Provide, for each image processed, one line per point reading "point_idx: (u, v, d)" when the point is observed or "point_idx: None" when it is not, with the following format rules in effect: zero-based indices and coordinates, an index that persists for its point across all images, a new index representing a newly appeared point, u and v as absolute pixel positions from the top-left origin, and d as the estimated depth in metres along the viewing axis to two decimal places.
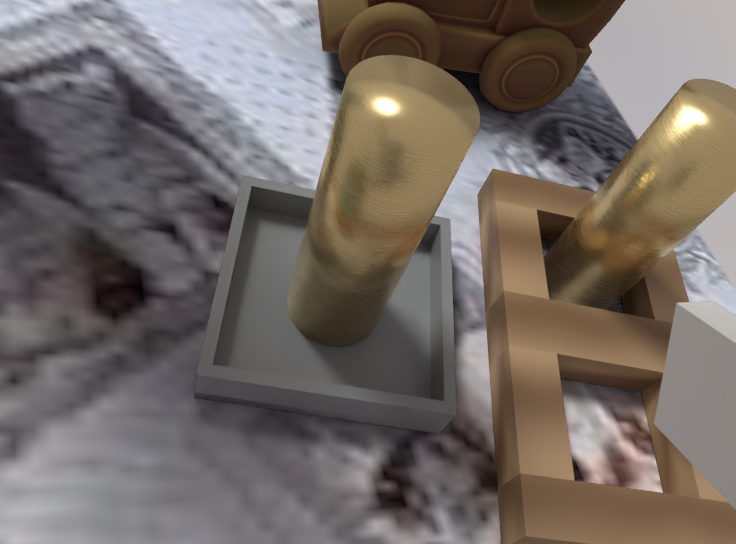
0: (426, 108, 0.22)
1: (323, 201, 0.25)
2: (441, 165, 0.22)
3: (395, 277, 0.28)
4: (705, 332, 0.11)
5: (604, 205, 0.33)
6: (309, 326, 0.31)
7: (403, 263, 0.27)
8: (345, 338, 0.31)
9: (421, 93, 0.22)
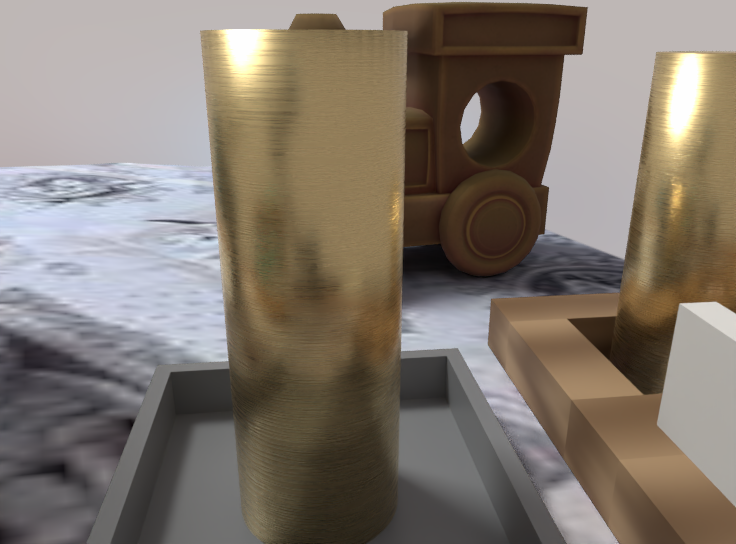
0: None
1: (224, 235, 0.16)
2: (364, 62, 0.14)
3: (383, 355, 0.17)
4: (709, 333, 0.11)
5: (646, 235, 0.23)
6: (278, 520, 0.18)
7: (385, 319, 0.16)
8: (345, 525, 0.18)
9: None
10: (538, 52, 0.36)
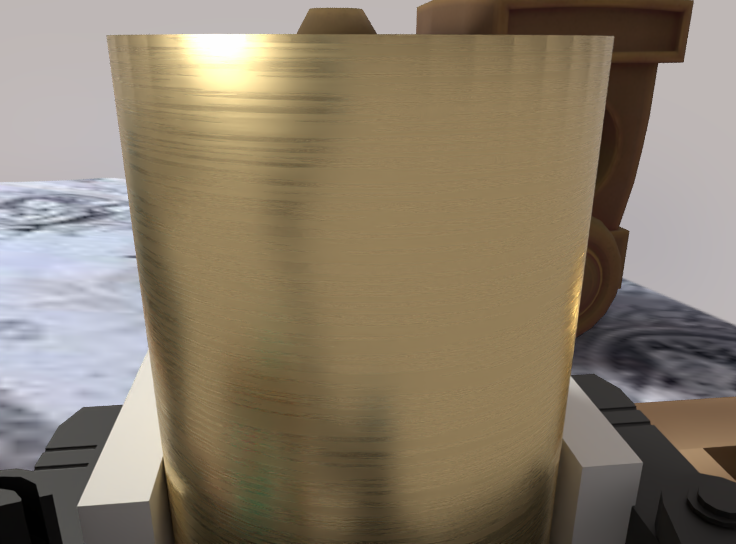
0: None
1: (175, 498, 0.07)
2: (544, 125, 0.05)
3: None
4: None
5: None
6: None
7: None
8: None
9: None
10: (629, 60, 0.27)
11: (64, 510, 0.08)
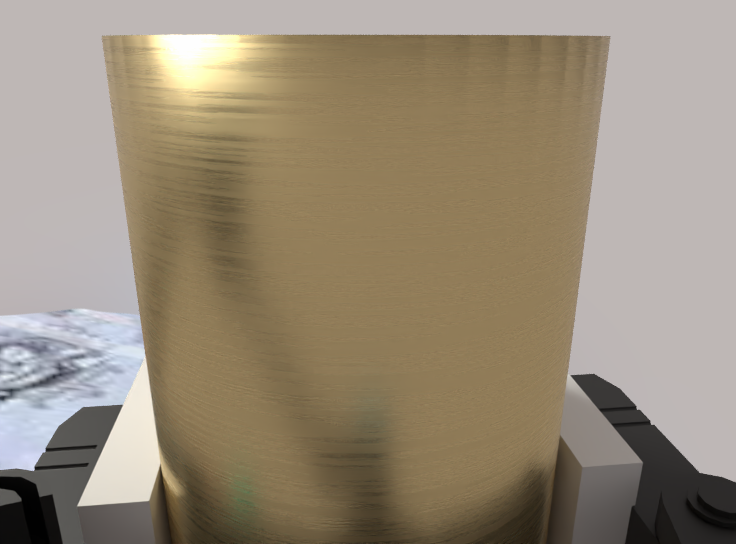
0: None
1: (171, 499, 0.07)
2: (539, 125, 0.05)
3: None
4: None
5: None
6: None
7: None
8: None
9: None
10: None
11: (64, 510, 0.08)
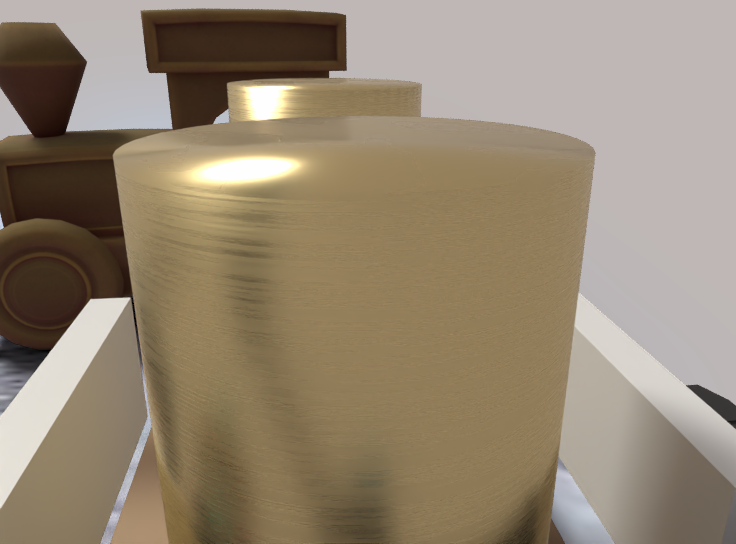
0: (399, 143, 0.07)
1: None
2: (526, 257, 0.05)
3: None
4: None
5: None
6: None
7: None
8: None
9: (374, 134, 0.07)
10: (284, 68, 0.31)
11: None
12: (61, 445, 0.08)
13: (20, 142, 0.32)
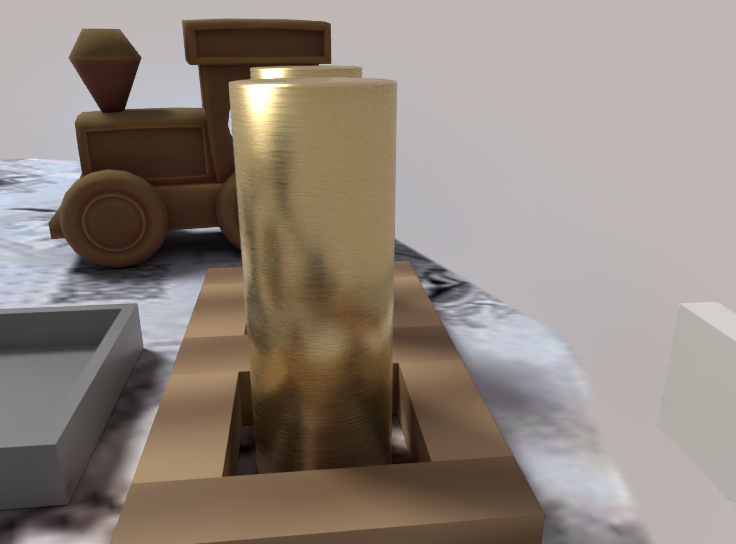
0: (329, 81, 0.19)
1: (247, 248, 0.19)
2: (361, 111, 0.17)
3: (377, 347, 0.20)
4: (708, 333, 0.11)
5: None
6: None
7: (379, 317, 0.20)
8: None
9: (322, 80, 0.19)
10: (286, 62, 0.42)
11: None
12: None
13: (94, 115, 0.44)
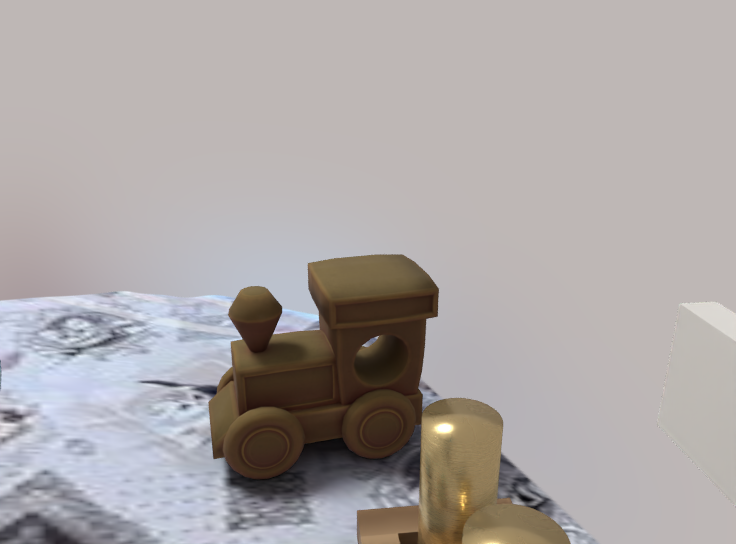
0: (527, 543, 0.29)
1: None
2: None
3: None
4: (708, 333, 0.11)
5: (421, 511, 0.40)
6: None
7: None
8: None
9: (518, 531, 0.30)
10: (403, 321, 0.53)
11: None
12: None
13: (247, 359, 0.54)
